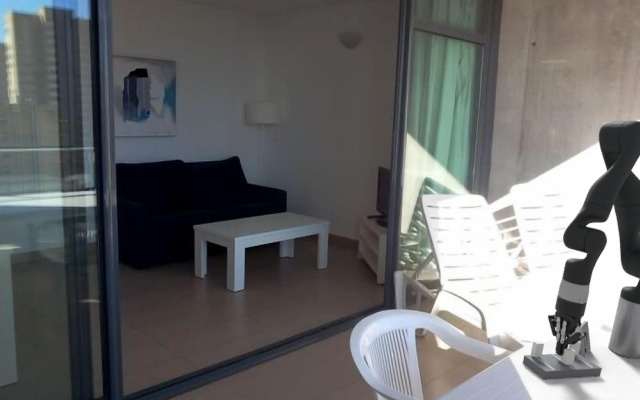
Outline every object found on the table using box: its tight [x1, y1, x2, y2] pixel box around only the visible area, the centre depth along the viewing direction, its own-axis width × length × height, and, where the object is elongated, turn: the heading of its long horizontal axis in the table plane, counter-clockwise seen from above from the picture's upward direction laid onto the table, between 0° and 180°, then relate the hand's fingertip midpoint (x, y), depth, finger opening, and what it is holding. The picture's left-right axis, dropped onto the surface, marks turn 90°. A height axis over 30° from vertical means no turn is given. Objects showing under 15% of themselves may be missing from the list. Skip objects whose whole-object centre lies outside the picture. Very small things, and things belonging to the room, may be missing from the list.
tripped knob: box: [562, 348, 576, 365], centre depth 151 cm, size 2×2×4 cm
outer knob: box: [530, 340, 545, 357], centre depth 154 cm, size 2×2×4 cm
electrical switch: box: [579, 320, 591, 358], centre depth 167 cm, size 9×5×9 cm, turn 141°
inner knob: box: [568, 341, 581, 355], centre depth 158 cm, size 2×2×4 cm
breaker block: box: [522, 353, 603, 381], centre depth 153 cm, size 19×9×3 cm, turn 108°
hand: (560, 354), depth 154 cm, fingers closed
